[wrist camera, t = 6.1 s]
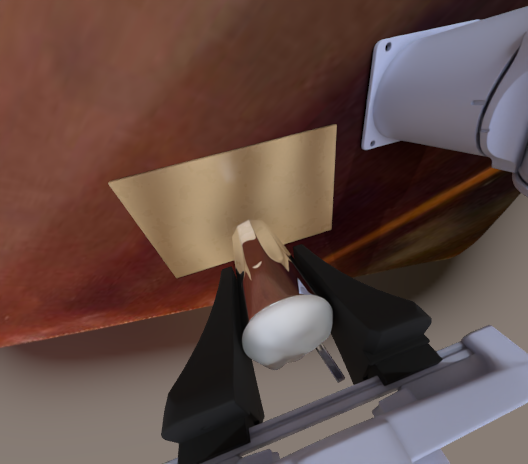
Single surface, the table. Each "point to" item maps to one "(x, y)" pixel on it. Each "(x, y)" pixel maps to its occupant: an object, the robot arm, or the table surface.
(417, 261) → the table surface
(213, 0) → the table surface
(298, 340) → the milkshake
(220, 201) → the desk mat
